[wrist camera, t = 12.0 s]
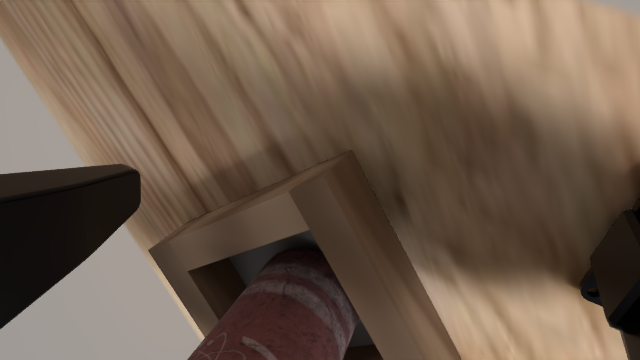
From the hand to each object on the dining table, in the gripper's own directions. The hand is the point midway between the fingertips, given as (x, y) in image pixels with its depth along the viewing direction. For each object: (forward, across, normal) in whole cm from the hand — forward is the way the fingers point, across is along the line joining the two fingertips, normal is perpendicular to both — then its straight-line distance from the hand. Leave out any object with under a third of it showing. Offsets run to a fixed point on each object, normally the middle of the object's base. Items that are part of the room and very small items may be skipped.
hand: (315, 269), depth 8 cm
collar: (+12, +3, +12) cm, 17 cm away
